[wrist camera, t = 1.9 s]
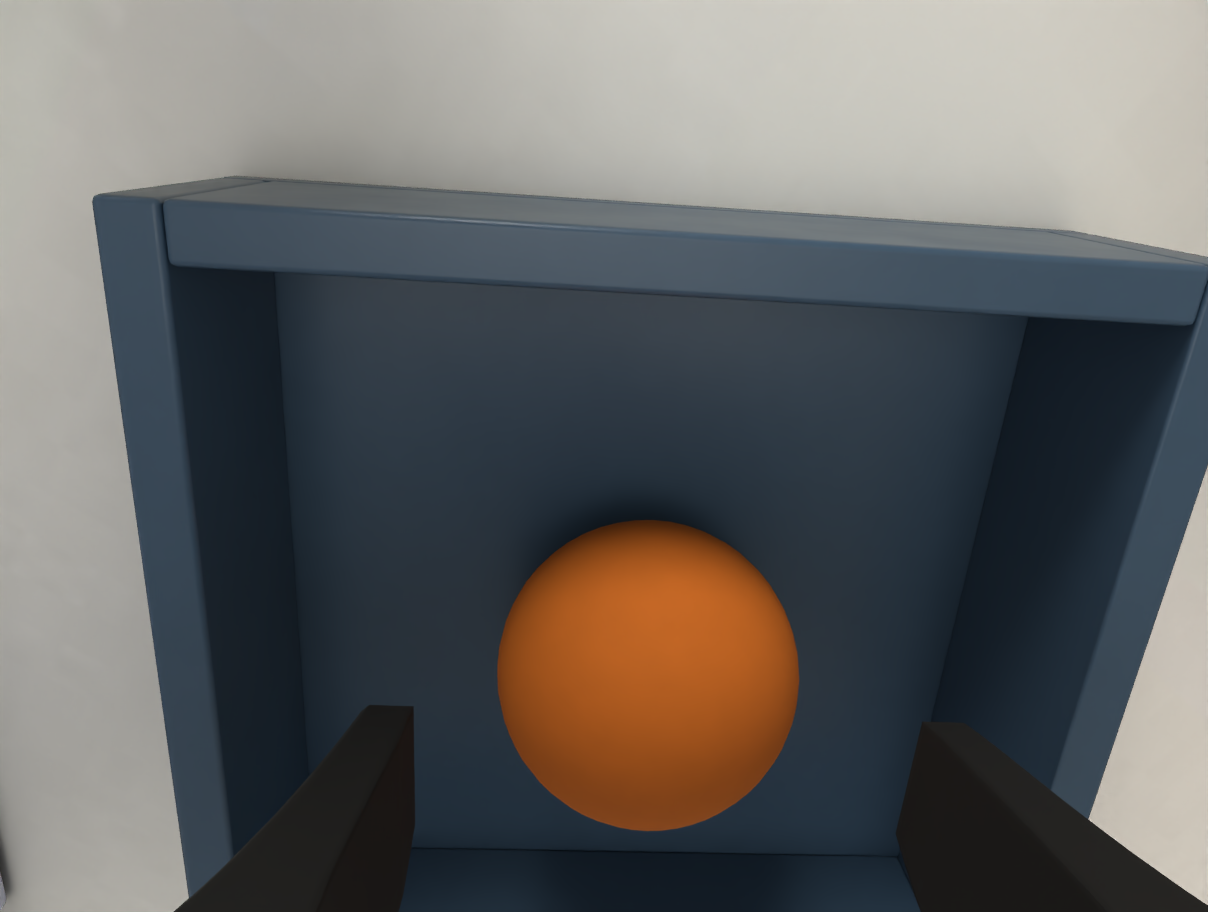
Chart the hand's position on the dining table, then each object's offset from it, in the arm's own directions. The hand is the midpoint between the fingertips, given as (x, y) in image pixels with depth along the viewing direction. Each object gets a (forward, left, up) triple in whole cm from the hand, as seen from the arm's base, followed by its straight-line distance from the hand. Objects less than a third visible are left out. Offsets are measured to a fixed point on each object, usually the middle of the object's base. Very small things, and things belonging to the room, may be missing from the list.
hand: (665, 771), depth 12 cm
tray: (0, 0, -6) cm, 6 cm away
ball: (0, 0, -2) cm, 3 cm away
